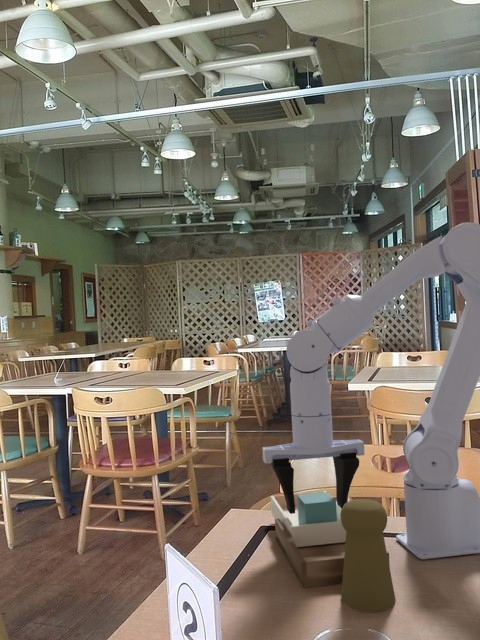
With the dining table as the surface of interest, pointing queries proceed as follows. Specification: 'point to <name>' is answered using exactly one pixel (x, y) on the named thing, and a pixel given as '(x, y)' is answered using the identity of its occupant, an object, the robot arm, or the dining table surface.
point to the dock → (313, 559)
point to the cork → (366, 557)
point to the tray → (307, 525)
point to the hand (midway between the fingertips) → (316, 508)
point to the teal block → (316, 508)
